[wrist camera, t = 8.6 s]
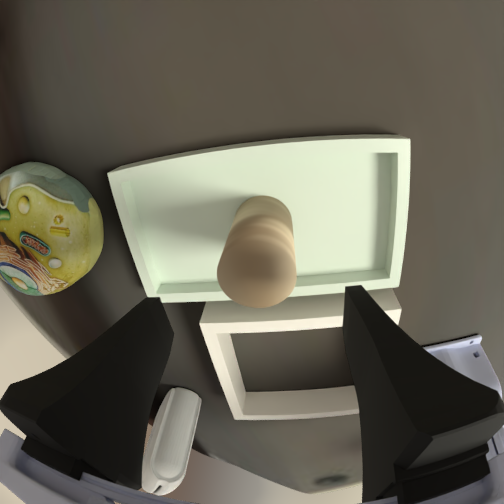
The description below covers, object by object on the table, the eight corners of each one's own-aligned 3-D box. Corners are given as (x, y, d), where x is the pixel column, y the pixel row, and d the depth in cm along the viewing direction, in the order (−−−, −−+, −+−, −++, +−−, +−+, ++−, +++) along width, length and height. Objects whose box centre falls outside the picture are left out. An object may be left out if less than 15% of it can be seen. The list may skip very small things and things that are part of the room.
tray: (398, 134, 15) (410, 138, 14) (391, 272, 20) (398, 286, 19) (120, 166, 18) (107, 173, 16) (157, 288, 23) (150, 302, 21)
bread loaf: (289, 192, 17) (294, 237, 12) (294, 245, 19) (298, 305, 14) (230, 198, 18) (209, 245, 13) (239, 250, 20) (224, 309, 14)
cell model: (132, 276, 19) (3, 340, 18) (132, 224, 25) (20, 285, 24) (52, 139, 13) (-73, 249, 11) (79, 119, 19) (-36, 205, 17)
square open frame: (389, 283, 21) (401, 308, 18) (367, 388, 27) (371, 411, 25) (207, 297, 23) (199, 323, 20) (238, 396, 29) (234, 419, 27)
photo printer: (184, 424, 35) (165, 502, 24) (155, 413, 34) (131, 491, 23) (207, 394, 30) (185, 495, 19) (171, 380, 29) (140, 480, 18)
